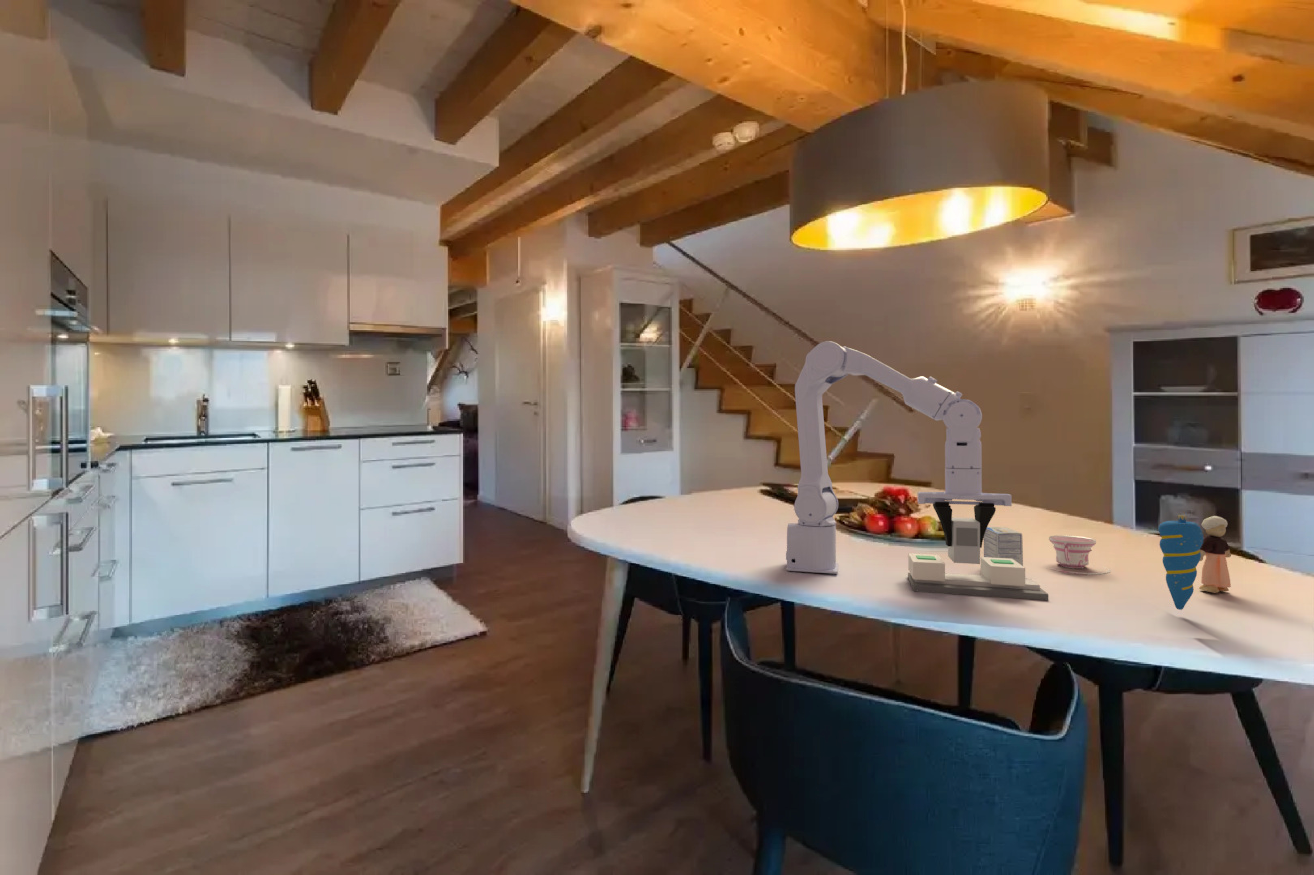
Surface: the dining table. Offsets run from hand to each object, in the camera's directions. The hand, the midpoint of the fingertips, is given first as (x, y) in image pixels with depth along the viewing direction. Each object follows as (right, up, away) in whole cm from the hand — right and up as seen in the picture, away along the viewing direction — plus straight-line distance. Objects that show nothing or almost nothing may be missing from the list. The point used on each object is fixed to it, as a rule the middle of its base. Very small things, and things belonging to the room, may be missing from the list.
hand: (963, 546), depth 104 cm
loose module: (0, -2, 0) cm, 2 cm away
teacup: (+29, -8, +15) cm, 34 cm away
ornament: (+26, -7, -13) cm, 30 cm away
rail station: (+1, -7, 0) cm, 7 cm away
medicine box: (+12, -8, +10) cm, 18 cm away
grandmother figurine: (+42, -7, -2) cm, 43 cm away
